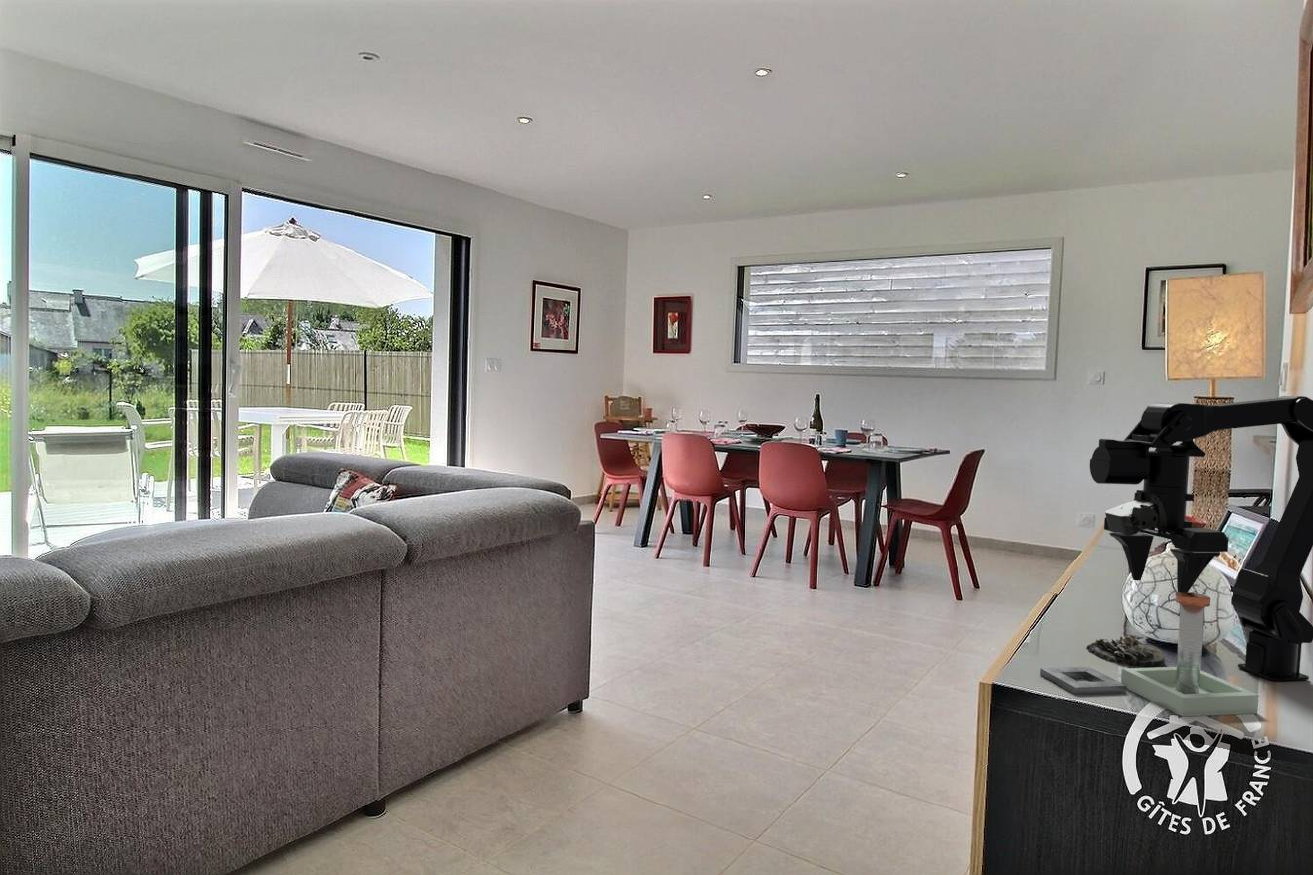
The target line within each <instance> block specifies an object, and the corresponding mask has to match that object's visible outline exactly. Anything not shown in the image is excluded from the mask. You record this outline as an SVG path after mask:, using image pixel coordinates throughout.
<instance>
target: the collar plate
mask: <svg viewBox="0 0 1313 875" xmlns="http://www.w3.org/2000/svg"><path fill="white" fill-rule="evenodd" d="M1039 670H1040V671H1039V672H1040V673H1039V675H1040V676H1042V677H1044V678H1045V679H1046V680H1048V681H1050V682H1052V683H1054V684H1056V685H1058V686H1059V687H1061V688H1063V689H1064V690H1066V691H1068V692H1069V693H1071V694H1073V695H1096V694H1097V695H1101V694H1102V695H1103V694H1120V693H1121V694H1125V693H1127V688H1126V685H1124V684H1122V683H1121V681H1119V680H1116V679H1114V678H1112V677H1110V676H1109V675H1106V674H1105V673H1102V672H1100V671H1098V670H1096V669H1095V668H1092V667H1091V666H1066V667H1064V666H1063V667H1040V669H1039ZM1075 679H1087V680H1089V681H1081V682H1079V681H1077V680H1075Z"/></svg>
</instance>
